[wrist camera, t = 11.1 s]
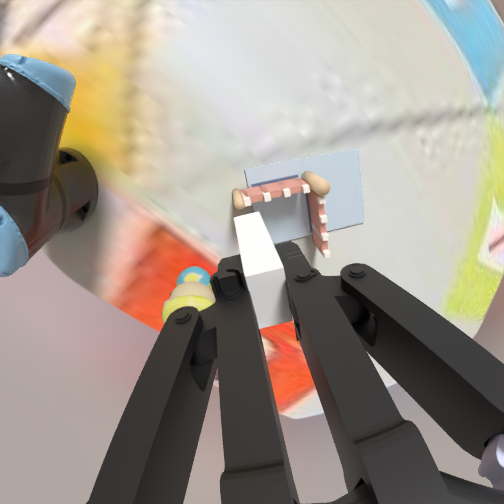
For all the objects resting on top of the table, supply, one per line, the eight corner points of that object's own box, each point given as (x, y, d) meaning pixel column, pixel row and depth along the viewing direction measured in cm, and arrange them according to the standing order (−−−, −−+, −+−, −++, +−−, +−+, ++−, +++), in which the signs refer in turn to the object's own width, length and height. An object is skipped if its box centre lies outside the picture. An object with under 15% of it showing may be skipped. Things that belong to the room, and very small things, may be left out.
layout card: (261, 246, 50) (261, 247, 49) (244, 169, 43) (244, 169, 43) (363, 221, 50) (364, 222, 49) (357, 149, 43) (358, 149, 43)
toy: (169, 256, 48) (153, 307, 35) (219, 254, 50) (220, 306, 36) (173, 292, 52) (162, 348, 39) (220, 291, 53) (222, 347, 40)
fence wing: (307, 187, 45) (318, 197, 40) (312, 186, 45) (325, 196, 40) (313, 243, 50) (324, 258, 44) (318, 241, 50) (330, 257, 44)
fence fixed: (313, 169, 44) (329, 178, 38) (315, 182, 45) (331, 194, 39) (230, 186, 44) (232, 199, 38) (233, 200, 45) (236, 215, 39)
